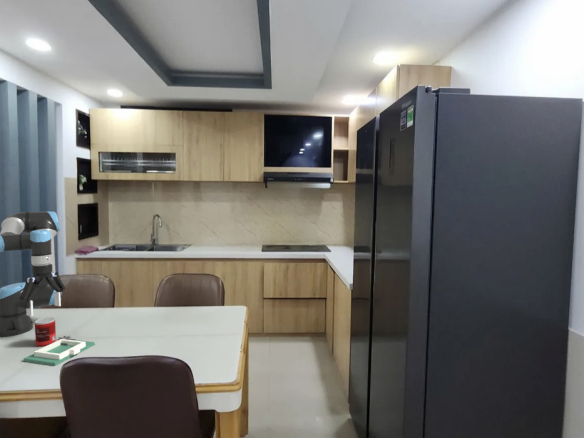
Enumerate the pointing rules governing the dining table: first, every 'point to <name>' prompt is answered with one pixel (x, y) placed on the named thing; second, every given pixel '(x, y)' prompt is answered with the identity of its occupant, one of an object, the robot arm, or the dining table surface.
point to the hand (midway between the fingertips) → (44, 310)
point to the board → (58, 351)
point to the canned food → (45, 331)
